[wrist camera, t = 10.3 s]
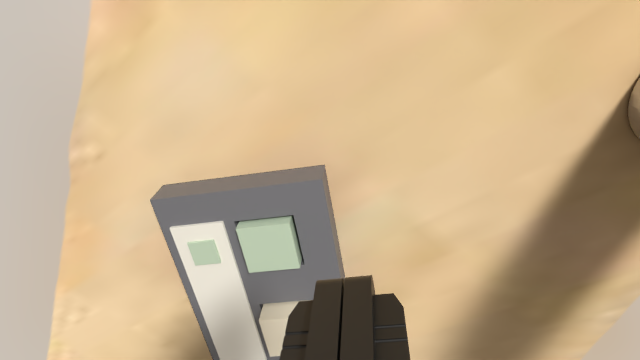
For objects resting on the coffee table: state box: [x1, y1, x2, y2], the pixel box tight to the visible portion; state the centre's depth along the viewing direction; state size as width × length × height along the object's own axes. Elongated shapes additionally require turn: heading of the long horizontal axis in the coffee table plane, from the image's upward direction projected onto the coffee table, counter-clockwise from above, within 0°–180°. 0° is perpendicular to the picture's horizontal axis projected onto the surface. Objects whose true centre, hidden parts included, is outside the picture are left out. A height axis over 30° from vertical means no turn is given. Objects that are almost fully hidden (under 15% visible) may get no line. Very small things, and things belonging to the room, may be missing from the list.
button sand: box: [259, 300, 310, 357], centre depth 43 cm, size 5×5×4 cm
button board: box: [150, 165, 345, 360], centre depth 45 cm, size 16×32×4 cm, turn 10°
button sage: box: [236, 215, 302, 273], centre depth 40 cm, size 5×5×4 cm
